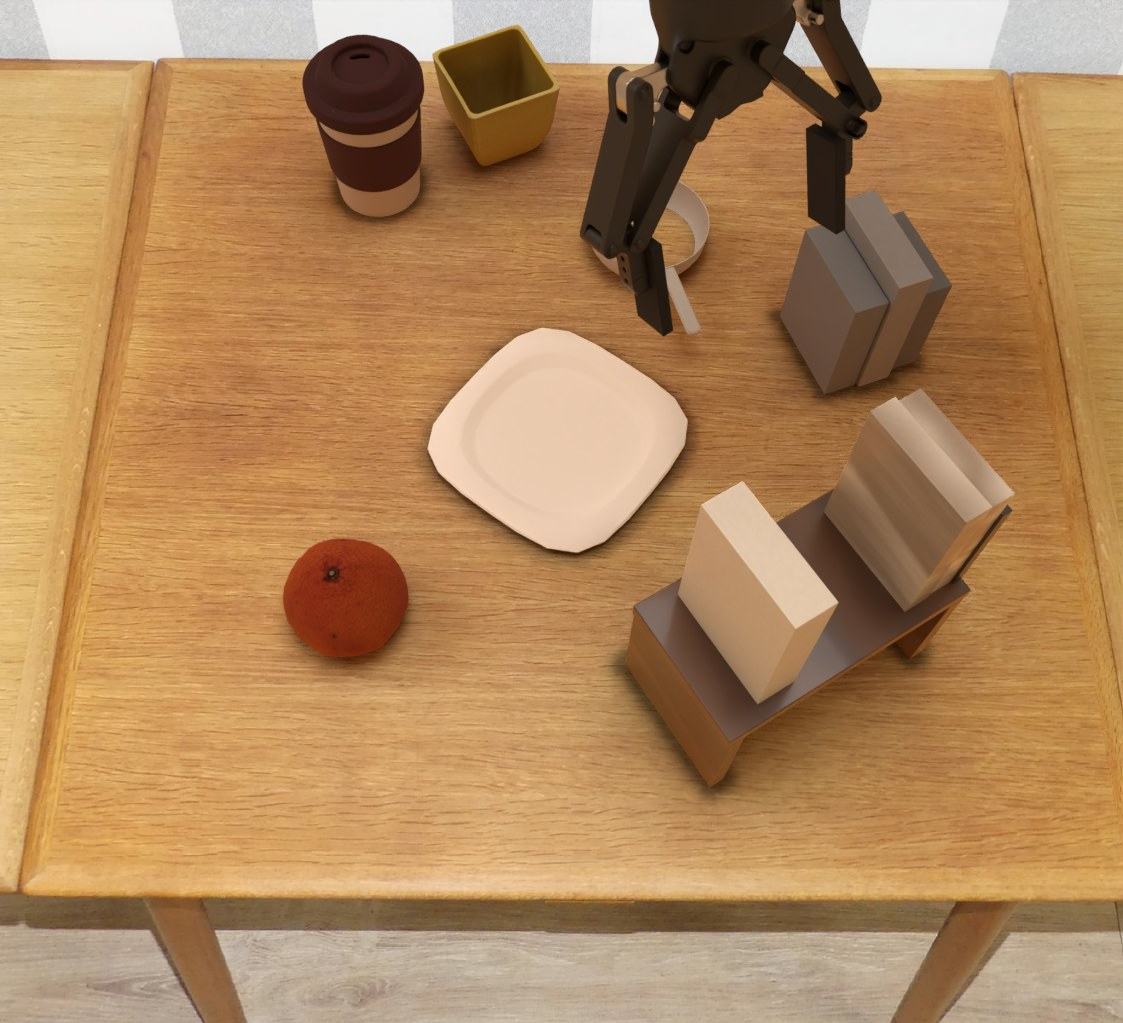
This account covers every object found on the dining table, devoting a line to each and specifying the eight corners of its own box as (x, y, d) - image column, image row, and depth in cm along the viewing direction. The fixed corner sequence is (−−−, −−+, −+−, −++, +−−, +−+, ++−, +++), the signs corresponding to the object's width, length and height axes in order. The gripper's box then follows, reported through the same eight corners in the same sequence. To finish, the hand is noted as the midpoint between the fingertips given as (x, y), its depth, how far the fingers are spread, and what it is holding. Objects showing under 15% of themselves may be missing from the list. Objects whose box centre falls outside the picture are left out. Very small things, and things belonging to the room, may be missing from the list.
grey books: (776, 318, 107) (808, 209, 94) (867, 289, 108) (910, 179, 96) (824, 401, 103) (863, 300, 90) (917, 370, 104) (968, 266, 92)
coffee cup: (402, 247, 110) (383, 123, 96) (306, 209, 111) (275, 82, 98) (453, 171, 114) (442, 43, 100) (360, 136, 115) (337, 5, 102)
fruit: (276, 655, 92) (254, 614, 85) (318, 552, 96) (301, 505, 88) (388, 686, 91) (376, 647, 84) (426, 580, 95) (417, 535, 88)
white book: (677, 594, 81) (700, 504, 70) (714, 572, 82) (743, 480, 71) (757, 704, 78) (795, 629, 66) (794, 681, 79) (839, 602, 67)
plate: (402, 460, 100) (400, 450, 98) (538, 317, 106) (538, 305, 105) (580, 585, 95) (581, 576, 93) (711, 426, 101) (713, 416, 100)
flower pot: (560, 160, 115) (562, 87, 107) (475, 191, 113) (470, 118, 105) (520, 98, 118) (519, 22, 110) (437, 126, 116) (429, 51, 108)
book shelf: (832, 541, 97) (921, 361, 74) (921, 652, 93) (1044, 497, 70) (621, 667, 92) (649, 515, 69) (706, 791, 88) (764, 671, 65)
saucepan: (682, 189, 113) (687, 160, 110) (749, 344, 105) (756, 318, 102) (571, 213, 112) (572, 184, 108) (630, 372, 104) (633, 346, 100)
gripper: (857, -176, 66) (853, 161, 82) (468, 12, 60) (545, 337, 76) (960, -142, 61) (935, 208, 77) (550, 65, 55) (614, 399, 71)
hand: (742, 272), depth 77 cm, fingers open, 13 cm apart
